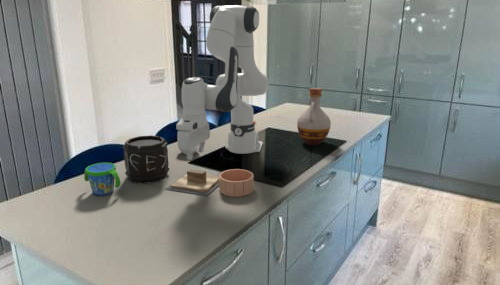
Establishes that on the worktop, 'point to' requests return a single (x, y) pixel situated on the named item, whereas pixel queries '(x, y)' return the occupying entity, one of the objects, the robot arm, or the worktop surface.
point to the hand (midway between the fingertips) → (195, 155)
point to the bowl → (236, 182)
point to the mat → (194, 191)
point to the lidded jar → (192, 149)
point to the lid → (196, 181)
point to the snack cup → (102, 178)
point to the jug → (314, 121)
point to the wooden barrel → (146, 159)
